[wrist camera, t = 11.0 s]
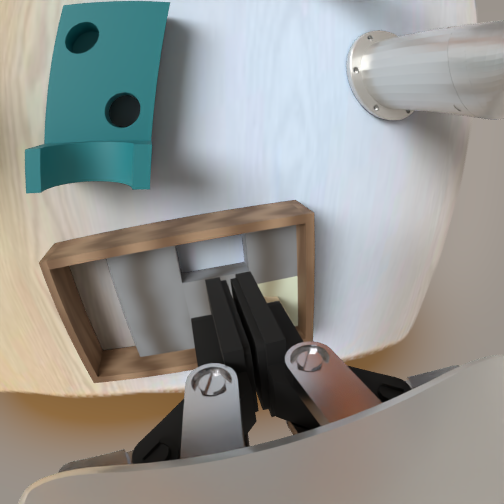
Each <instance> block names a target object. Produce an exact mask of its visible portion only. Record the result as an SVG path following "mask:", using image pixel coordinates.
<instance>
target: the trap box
mask: <svg viewBox="0 0 504 504" xmlns="http://www.w3.org/2000/svg"><path fill="white" fill-rule="evenodd" d="M238 234H242V241H243V250H244V260H245V262H242V263H236V264H231V265H225V266H220V267H215V268H209V269H204V270H198V271H193V272H187V273H182V274H181V270H180V265H179V260H178V255H177V250H176V245H181V244H186V243H192V242H197V241H203V240H209V239H214V238H220V237H226V236H232V235H238ZM100 259H106V260H107V264H108V267H109V270H110V274H111V277H112V280H113V283H114V286H115V289H116V292H117V296H118V298H119V301H120V304H121V307H122V310H123V313H124V316H125V319H126V321H127V324H128V327H129V329H130V332H131V335H132V337H133V340H134V343H135V345H136V346H133V347H126V348H118V349H111V350H102V348H101V346H100V343H99V341H98V339H97V337H96V334H95V332H94V330H93V328H92V325H91V323H90V320H89V318H88V316H87V313H86V311H85V308H84V306H83V303H82V301H81V298H80V295H79V293H78V290H77V287H76V285H75V282H74V279H73V276H72V273H71V270H70V267H69V266H70V265H75V264H80V263H85V262H90V261H95V260H100ZM39 264H40V267H41V270H42V273H43V275H44V278H45V281H46V283H47V286H48V288H49V291H50V293H51V296H52V298H53V301H54V303H55V305H56V308H57V310H58V312H59V315H60V317H61V319H62V321H63V324H64V326H65V328H66V330H67V332H68V334H69V336H70V338H71V340H72V342H73V345H74V347H75V348H76V350H77V352H78V354H79V356H80V358H81V360H82V362H83V364H84V366H85V368H86V369H87V371H88V373H89V375H90V377H91V378H92V380H93V382H94V383H99V382H109V381H118V380H126V379H135V378H142V377H149V376H156V375H163V374H170V373H176V372H182V371H188V370H193V369H196V368H197V367H198V365H197V358H196V352H195V345H194V338H193V331H192V323H191V318H195V317H200V316H206V315H211V310H210V305H209V300H208V294H207V289H206V283H205V280H206V279H211V278H217V277H220V280H221V281H222V280H226V281H227V284H228V286H229V289H230V292H231V295H232V289H231V281H230V279H233V278H235V274H238V273H243V272H249V271H250V272H251V273H252V275H253V277H254V279H255V281H256V283H257V285H258V287H259V289H260V291H261V293H262V294H263V296H264V297H265V296H277V297H278V298H279V300H280V302H281V303H282V305H283V307H284V309H285V310H286V312H287V314H288V315H289V317H290V319H291V321H292V323H293V325H294V326H295V328H296V330H297V331H298V333H299V335H300V336H301V338H302V340H303V341H304V342H310V341H313V318H314V268H315V232H314V212H312V211H311V210H309V209H308V208H306V207H305V206H304V205H302V204H301V203H299V202H298V201H296V200H292V201H284V202H277V203H270V204H264V205H257V206H250V207H244V208H237V209H231V210H225V211H219V212H213V213H207V214H201V215H195V216H189V217H183V218H178V219H172V220H167V221H161V222H156V223H150V224H145V225H140V226H135V227H130V228H124V229H119V230H115V231H110V232H105V233H100V234H95V235H90V236H86V237H81V238H76V239H72V240H67V241H63V242H58V243H55V244H54V245H53V246H52V247H51V248H50V250H49V251H48V252H47V253H46V255H45V256H44V257H43V258H42V260H41V261H40V262H39ZM232 298H233V296H232Z"/></svg>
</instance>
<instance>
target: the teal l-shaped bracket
mask: <svg viewBox="0 0 504 504" xmlns="http://www.w3.org/2000/svg"><path fill="white" fill-rule="evenodd" d="M169 6H170V2H152V1H113V2H94V3H82V4H72V5H64V6H63V9H62V13H61V18H60V22H59V26H58V31H57V36H56V41H55V46H54V51H53V57H52V63H51V70H50V77H49V85H48V95H47V105H46V119H45V140H44V144H43V145H39V146H36V147H32V148H29V149H26V150H25V178H26V193H41V192H42V191H44V190H46V189H49V188H52V187H55V186H59V185H63V184H68V183H75V182H86V181H110V182H118V183H123V184H127V185H129V186H131V187H132V189H150V174H151V156H152V142H151V136H152V124H153V113H154V103H155V94H156V86H157V78H158V70H159V63H160V57H161V50H162V44H163V38H164V32H165V26H166V21H167V16H168V11H169ZM126 95H127V96H132V97H134V98H136V99H137V100H138V102H139V103H140V114H139V117H138V118H137V120H136V121H135V122H134V123H133V124H132V125H130V126H128V127H118V126H116V125H115V124H113V123H112V121H111V120H110V117H109V109H110V106H111V104H112V103H113V101H114V100H116V99H117V98H119V97H121V96H126Z"/></svg>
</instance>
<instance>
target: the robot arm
mask: <svg viewBox="0 0 504 504" xmlns="http://www.w3.org/2000/svg"><path fill="white" fill-rule="evenodd" d="M346 65H347V76H348V81H349V84H350V86H351V89H352V91H353V93H354V95H355V97H356V99H357V100H358V101H359V102H360V104H361V105H362V106H363V107H364V108H365V109H366V110H367V111H368V112H370V113H371V114H373V115H374V116H376V117H379V118H381V119H386V120H401V119H404V118H406V117H408V116H410V115H411V114H412V113H413V112H414V111H415V110H416V111H428V112H438V113H447V114H455V115H463V116H470V117H477V118H484V119H491V120H497V119H504V20H503V21H493V22H486V23H478V24H468V25H461V26H453V27H446V28H440V29H434V30H428V31H423V32H418V33H413V34H408V35H403V36H399V37H398V36H396V35H394V34H393V33H390V32H387V31H380V30H378V31H371V32H368V33H365V34H363V35H361V36H360V37H358V38H357V39H356V40H355V41H354V43H353V44H352V46H351V47H350V50H349V53H348V56H347V63H346ZM353 71H354V72H353ZM230 281H231V289H232V295H231V292H230V289H229V286H228V284H227V281H226V280H222V281H221V280H220V277H217V278H211V279H206V280H205V283H206V289H207V294H208V300H209V305H210V310H211V315H206V316H200V317H195V318H191V323H192V331H193V338H194V345H195V352H196V358H197V365H198V367H197V368H196V369H195V370H193V371H192V372H191V373H190V374H189V376H188V377H187V380H186V385H185V397H184V399H183V400H182V401H181V402H180V403H179V404H178V405H177V406H176V407H175V408H174V409H173V410H172V411H171V412H170V413H169V414H168V415H167V416H166V417H165V418H164V419H163V420H162V421H161V422H160V423H159V424H158V425H157V426H156V427H155V428H154V429H153V430H152V431H151V432H150V433H148V434H147V435H146V436H145V438H143V439H142V440H141V441H140V442H139V443H138V444H137V446H136V447H135V448H134V450H132V451H129V452H126V451H125V450H124V449H123V450H119V451H116V452H112V453H108V454H104V455H100V456H96V457H91V458H87V459H82V460H77V461H73V462H69V463H67V464H65V465H64V466H62V467H61V468H60V470H59V472H58V473H56V474H53V475H50V476H47V477H45V478H42V479H40V480H38V481H36V482H34V483H33V484H31V485H30V486H29V487H28V488H27V489H26V490H25V491H24V492H23V494H22V496H21V498H20V500H19V503H18V504H504V355H495V356H489V357H484V358H481V359H477V360H474V361H471V362H469V363H466V364H464V365H461V366H459V365H456V366H450V367H446V368H443V369H439V370H435V371H431V372H427V373H423V374H419V375H415V376H410V377H407V380H406V381H403V380H402V379H399V378H396V377H391V376H388V375H383V374H379V373H375V372H371V371H367V370H362V369H359V368H354V367H351V366H347V365H346V364H345V363H344V362H343V361H342V360H341V359H340V358H339V357H338V356H337V355H336V354H335V353H334V352H333V351H332V350H331V349H330V348H329V347H328V346H326V345H324V344H322V343H319V342H313V341H310V342H304V341H303V340H302V338H301V336H300V335H299V333H298V331H297V330H296V328H295V326H294V325H293V323H292V321H291V319H290V318H289V316H288V314H287V313H286V311H285V309H284V308H283V306H282V304H281V303H280V301H274V302H270V303H267V302H266V300H265V298H264V296H263V294H262V293H261V291H260V289H259V287H258V285H257V283H256V281H255V279H254V277H253V275H252V273H251V272H250V271H249V272H243V273H238V274H235V278H233V279H230ZM232 296H233V298H232ZM256 392H257V395H258V398H259V400H260V403H261V406H262V408H263V410H265V409H269V411H270V414H271V416H272V417H274V416H276V417H279V418H281V419H284V420H286V423H287V426H288V428H289V429H290V431H291V432H292V434H293V435H292V436H289V437H285V438H281V439H278V440H274V441H270V442H267V443H262V444H258V445H254V446H250V445H249V436H248V432H249V431H250V429H251V428H252V426H253V425H254V424H255V422H256V415H255V412H257V411H258V403H257V396H256Z"/></svg>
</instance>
